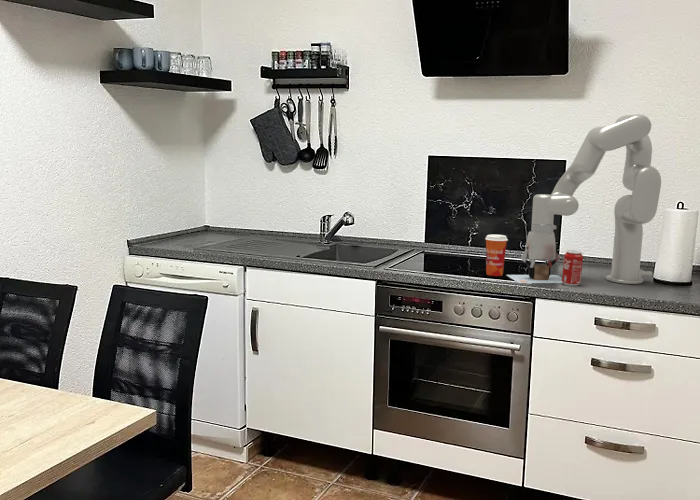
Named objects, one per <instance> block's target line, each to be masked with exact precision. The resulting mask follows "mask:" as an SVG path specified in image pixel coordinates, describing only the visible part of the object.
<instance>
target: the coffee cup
mask: <svg viewBox="0 0 700 500" xmlns="http://www.w3.org/2000/svg"><path fill="white" fill-rule="evenodd" d="M484 240H485V272H486V276H490V277H502V276H503V274H504V268H505V267H504V266H505V261H506V260H505V259H506V250H507V243H508V242H509V239H508V237H507V235H504V234H492V233H491V234H487V235H486V236H485V239H484Z"/></svg>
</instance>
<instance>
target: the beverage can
mask: <svg viewBox="0 0 700 500" xmlns="http://www.w3.org/2000/svg"><path fill="white" fill-rule="evenodd" d="M583 261H584V255H583V253H582V251H581V250H577V249H576V250H575V249H568V250H566V252H565V253H564V256H563V265H562V276H561V277H562V282H563V283H562V284H563V285H564V286H570V287H577V286H579V285H580V284H581V281H582V270H583Z"/></svg>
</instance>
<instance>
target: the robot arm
mask: <svg viewBox="0 0 700 500" xmlns="http://www.w3.org/2000/svg"><path fill="white" fill-rule="evenodd" d="M651 130H652V121H651V119H650V118H649V117H648V116H646V115H644V114H627V115H626V114H625V115H622V116H619V118H617V119H616V120H615V123H613V124H610V125H606V126H597V127H593V128H591V129H590V130H589V131H588V133H587V135H586V136H585V138H584V140H583V142H582V144H581V146H580V148H579V150H578V151H577V154H576V155H575V158H574V159H573V161H572V163H571V164H570V166H569V167H568V168H567V169H566V170H565V172H564V173H563V174H562V176H561V177H560V178H559V179H558V181H557V183H556V184H555V186H554V188H553V190H552V192H551V194H547V193H546V194H545V193H544V194H543V193H541V194H540V193H539V194H535V195H533V199H532V211H531V212H532V213H531V214H532V215H531V230H530V231H529V232H528V234H527V237H526V242H525V249H524V252H523V253H522V255H521V256H520V257H519V258H520V260H521V261H523V263H525V264H526V266H527V267H528V274H527V275H529V277H530V278H532V279H534V264H536V261H545V262H544V264H545V265H547V266H549V275H548V279H549V276H550V275H551V268H552V267H553V266H554V265H555V264H556V263H557V262H558V261H559V260H561V257H560V255H559V254H558V252H557V251H556V249H557V248H556V247H557V246H556V237H555V232H554V230H557V225H555V224H554V219H555V218H554V215H560V216H566V217H568V216H572V215H574V214H575V213H576V212H577V211H578V210H579V207H580V206H579V201H578V199H577V198H576V197H574V194H575V192H576V190H577V189H578V188H579V187H580V186H581V185H582V184H583V183H584V182H586V181H587V180H588V179H590V178H591V177H593V176H594V174H596V171H597V170H598V167H599V166H600V163H601V162H602V161H603V158H604V156H605V155H606V153H607V152H610V151H611V152H612V151H614V150H617V149H621V148H623V147H625V149H626V152H625V162H624V167H623V168H624V169H623V174H622V184H623V187H624V188H625V189H626V190H629V191H631V194H626V195H622V196H621V197H619V198H618V199H617V201H616V203H615V205H614V208H613V210H614V211H613V213H614V235H613V249H612V261H611V272H610V274H608V275H606V276H605V277H606V278H605V279H606V280H607V281H609V282H613V283H618V284H625V285H626V284H627V285H628V284H629V285H630V284H631V285H638V284H643V283H644V279H643V278H644V277H647V278H648V277H651V278H652V276H653V272H652V271H649V270H648V271H647V270H646V271H645V270H643V269H641V268H640V266H641V258H642V257H641V256H642V255H641V254H642V248H643V247H642V246H643V235H644V234H643V233H644V229H643V225H644V224H645V225H646V224H648V223H650V222H651V221H652V220H654V218H655V216H656V214H657V210H658V206H659V202H660V201H659V199H660V194H661V188H662V177H661V174H660V172H659V170H658V169H656V167H654V166H652V156H653V145H652V142H651V141H652V140H651V138H650V136H649V135H650V132H651ZM528 259H529V260H528Z"/></svg>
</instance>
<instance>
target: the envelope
mask: <svg viewBox="0 0 700 500" xmlns="http://www.w3.org/2000/svg"><path fill="white" fill-rule="evenodd" d="M505 276H507V277H508V278H509V279H511V280H514V281H515V282H517V283H518V284H564V283H563V282H562V276H560V275H557V274H550V276H549V279H548V280H534V279H532V278H530V277H529V275H528V274H505Z"/></svg>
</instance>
